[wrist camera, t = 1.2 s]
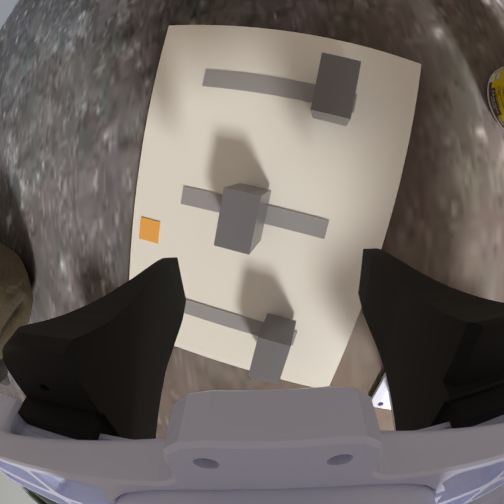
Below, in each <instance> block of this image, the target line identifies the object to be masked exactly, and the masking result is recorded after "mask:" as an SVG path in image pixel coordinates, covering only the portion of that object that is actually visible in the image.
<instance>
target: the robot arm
mask: <svg viewBox="0 0 504 504" xmlns="http://www.w3.org/2000/svg"><path fill="white" fill-rule="evenodd" d="M358 295H359V299H360V303H361V306H362V310H363V314H364V316H365V319H366V321H367V324H368V326H369V329H370V331H371V333H372V336H373V338H374V341H375V343H376V346H377V348H378V351H379V353H380V356H381V359H382V362H383V365H384V369H385V373H384V375H383V377H382V379H381V381H380V383H379V384H378V386H377V388H376V390H375V392H374V394H373V395H372V397H370V396H368V395H367V394H365V393H363V392H362V391H360V390H358V389H357V388H352V387H337V386H325V387H313V388H298V389H278V390H211V391H203V392H196V393H190V394H187V395H186V396H184V397H183V398H182V399H180V400H179V401H177V402H176V403H174V406H173V410H172V414H171V418H170V422H169V426H168V430H167V434H166V438H156V428H157V419H158V411H159V405H160V398H161V392H162V387H163V382H164V376H165V372H166V368H167V365H168V362H169V359H170V356H171V353H172V350H173V347H174V344H175V341H176V338H177V335H178V333H179V330H180V327H181V324H182V320H183V315H184V310H185V305H186V297H185V293H184V288H183V283H182V278H181V273H180V268H179V263H178V258H177V257H172V258H162V259H160V260H158V261H156V262H155V263H153V264H152V265H150V266H149V267H148V268H146V269H145V270H143V271H142V272H141V273H139V274H138V275H136V276H135V277H134V278H132V279H131V280H129V281H128V282H126V283H125V284H123V285H122V286H120V287H119V288H117V289H115V290H114V291H112V292H111V293H109V294H107V295H106V296H104V297H102V298H100V299H98V300H96V301H94V302H92V303H90V304H88V305H86V306H84V307H81V308H79V309H77V310H75V311H72V312H70V313H67V314H64V315H62V316H59V317H56V318H52V319H49V320H46V321H42V322H38V323H33V324H29V325H25V326H20V327H18V329H17V330H16V331H15V332H14V334H13V335H12V336H11V337H10V339H9V340H8V341H7V343H6V344H5V345H4V347H3V349H2V356H3V360H4V363H5V365H6V367H7V369H8V371H9V372H10V374H11V375H12V377H13V378H14V380H15V381H16V383H17V384H18V385H19V387H20V388H21V390H22V391H23V392H24V394H25V395H26V396H27V397H26V399H25V400H24V402H23V403H22V402H21V401H19V400H18V399H16V398H14V397H11V396H8V395H6V394H3V393H0V471H1V472H2V473H3V474H4V475H5V476H7V477H8V478H9V479H11V480H13V481H14V482H16V483H18V484H20V485H22V486H24V487H26V488H28V489H30V490H32V491H34V492H36V493H38V494H40V495H42V496H44V497H46V498H48V499H50V500H52V501H54V502H57V503H59V504H504V303H502V302H496V301H492V300H488V299H484V298H480V297H477V296H473V295H470V294H467V293H464V292H461V291H459V290H456V289H453V288H451V287H449V286H446V285H444V284H442V283H440V282H437V281H435V280H433V279H431V278H430V277H428V276H426V275H424V274H422V273H420V272H419V271H417V270H415V269H413V268H412V267H410V266H408V265H407V264H405V263H403V262H402V261H400V260H398V259H397V258H395V257H393V256H392V255H390V254H388V253H387V252H385V251H383V250H381V249H378V248H372V249H363V255H362V265H361V274H360V283H359V291H358ZM379 402H382V403H379ZM374 407H378V408H384V409H391V412H392V418H393V425H394V431H380V429H379V425H378V422H377V418H376V414H375V410H374Z"/></svg>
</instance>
